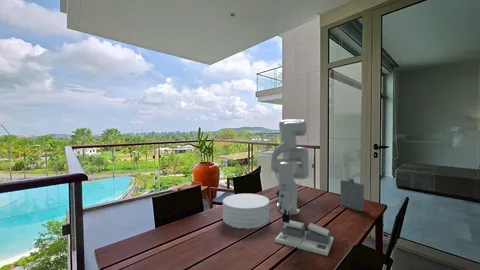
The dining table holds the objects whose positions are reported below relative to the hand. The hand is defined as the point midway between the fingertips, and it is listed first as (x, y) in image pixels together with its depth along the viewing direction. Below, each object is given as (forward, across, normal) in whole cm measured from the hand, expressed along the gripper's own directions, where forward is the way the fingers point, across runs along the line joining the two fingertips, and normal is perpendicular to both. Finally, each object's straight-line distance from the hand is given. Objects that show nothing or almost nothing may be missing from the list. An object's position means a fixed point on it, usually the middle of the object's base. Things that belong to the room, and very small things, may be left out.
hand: (285, 221), depth 118 cm
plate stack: (+7, +8, +28) cm, 30 cm away
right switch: (+1, +1, -16) cm, 16 cm away
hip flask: (+7, +61, -23) cm, 66 cm away
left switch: (+1, +1, -4) cm, 4 cm away
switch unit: (+7, -1, -10) cm, 12 cm away
